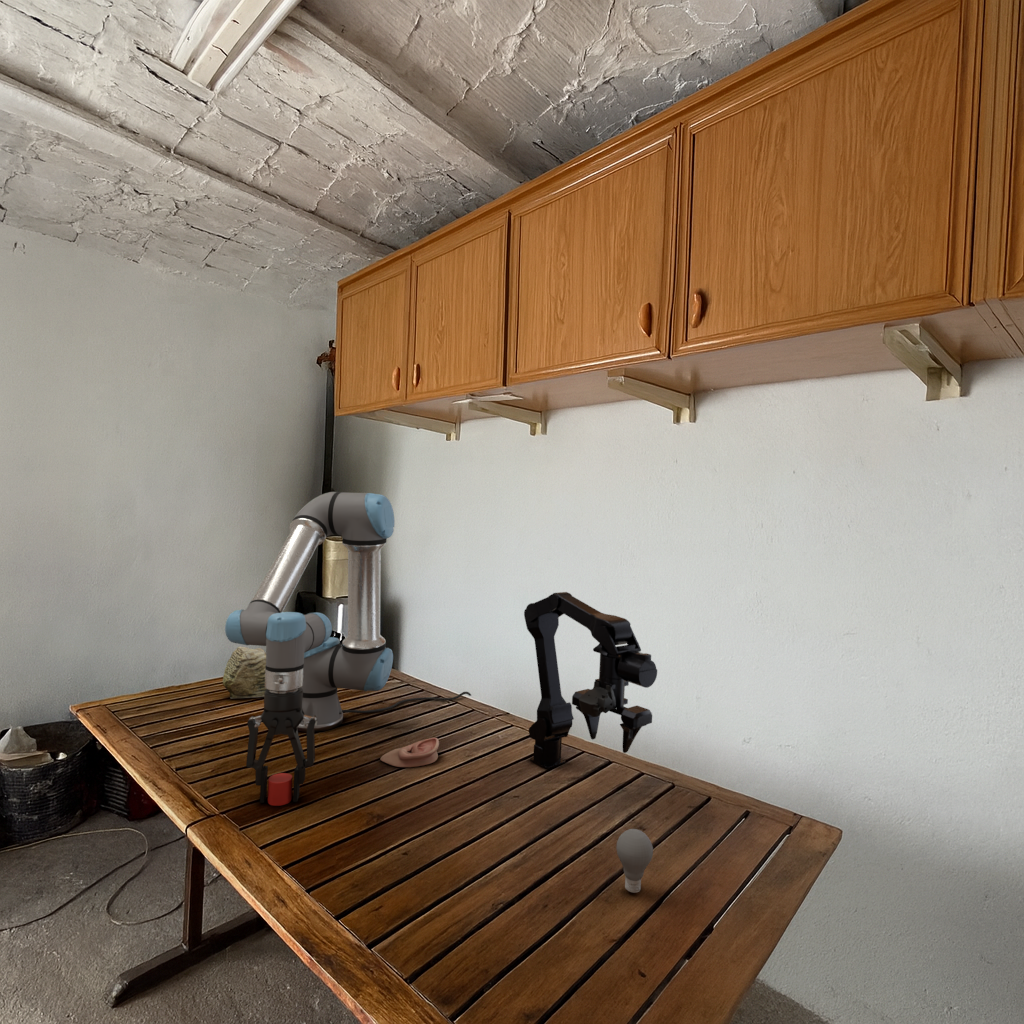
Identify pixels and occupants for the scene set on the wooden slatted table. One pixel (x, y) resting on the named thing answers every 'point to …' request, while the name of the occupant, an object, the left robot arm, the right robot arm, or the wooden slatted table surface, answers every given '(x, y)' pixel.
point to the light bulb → (634, 857)
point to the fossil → (245, 673)
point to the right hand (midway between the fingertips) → (608, 745)
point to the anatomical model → (413, 754)
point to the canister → (279, 789)
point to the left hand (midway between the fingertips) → (279, 799)
